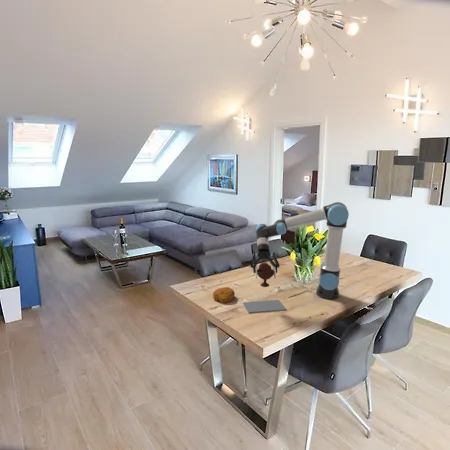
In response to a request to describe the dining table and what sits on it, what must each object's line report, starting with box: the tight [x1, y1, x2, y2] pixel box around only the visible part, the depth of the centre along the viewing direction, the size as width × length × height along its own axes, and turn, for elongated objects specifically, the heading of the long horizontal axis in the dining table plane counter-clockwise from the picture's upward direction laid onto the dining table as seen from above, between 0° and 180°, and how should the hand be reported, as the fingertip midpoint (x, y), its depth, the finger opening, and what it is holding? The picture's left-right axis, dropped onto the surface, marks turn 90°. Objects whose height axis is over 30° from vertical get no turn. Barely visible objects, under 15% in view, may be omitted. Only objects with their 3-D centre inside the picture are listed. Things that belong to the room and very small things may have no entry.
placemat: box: [242, 299, 287, 314], centre depth 211 cm, size 24×14×1 cm, turn 101°
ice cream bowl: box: [257, 262, 274, 288], centre depth 207 cm, size 11×11×15 cm
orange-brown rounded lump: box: [212, 286, 236, 304], centre depth 223 cm, size 14×16×8 cm
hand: (265, 277), depth 204 cm, fingers closed on ice cream bowl, 11 cm apart
